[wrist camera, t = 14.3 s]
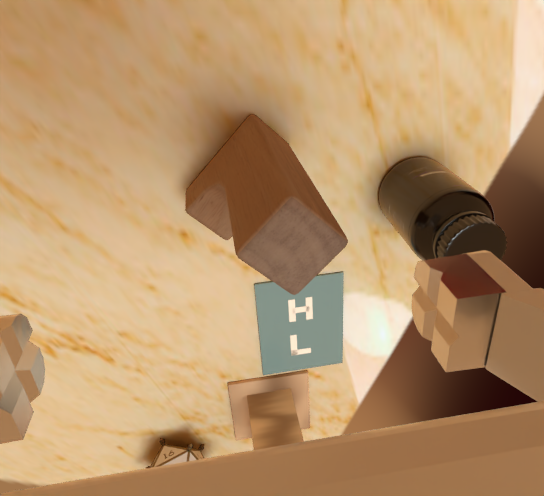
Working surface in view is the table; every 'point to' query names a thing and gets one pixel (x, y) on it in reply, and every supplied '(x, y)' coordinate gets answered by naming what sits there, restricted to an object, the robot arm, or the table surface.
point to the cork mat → (268, 384)
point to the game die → (176, 454)
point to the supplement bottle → (438, 211)
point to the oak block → (273, 419)
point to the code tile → (300, 324)
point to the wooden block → (266, 207)
